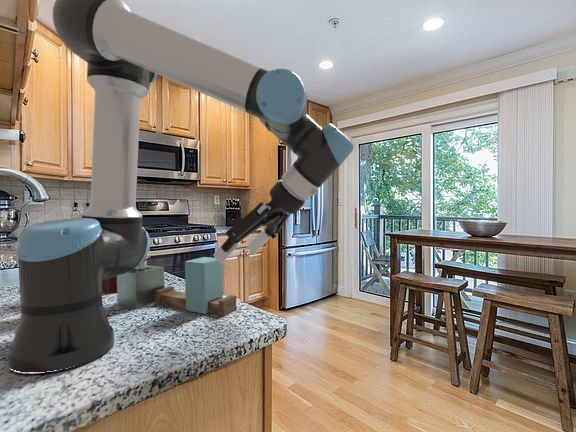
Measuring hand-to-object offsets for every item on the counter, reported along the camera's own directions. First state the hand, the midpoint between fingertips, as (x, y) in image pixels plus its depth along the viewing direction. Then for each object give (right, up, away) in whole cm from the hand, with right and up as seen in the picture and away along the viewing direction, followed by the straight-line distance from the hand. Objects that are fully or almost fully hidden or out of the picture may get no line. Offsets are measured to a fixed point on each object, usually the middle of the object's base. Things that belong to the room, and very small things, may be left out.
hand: (235, 254), depth 75 cm
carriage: (-8, -14, +4) cm, 17 cm away
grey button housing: (-27, -14, +10) cm, 32 cm away
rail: (-11, -14, +6) cm, 19 cm away
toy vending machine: (-42, -14, +24) cm, 50 cm away
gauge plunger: (-27, -7, +9) cm, 29 cm away
